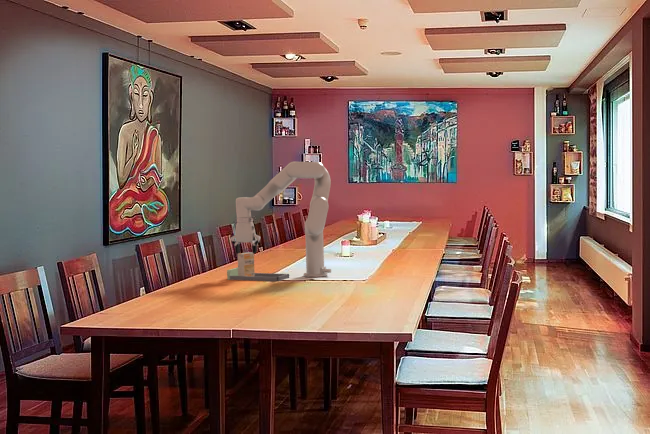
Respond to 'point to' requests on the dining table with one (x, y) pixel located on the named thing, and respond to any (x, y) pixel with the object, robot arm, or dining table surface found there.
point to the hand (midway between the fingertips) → (246, 253)
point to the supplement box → (246, 264)
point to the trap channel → (256, 276)
